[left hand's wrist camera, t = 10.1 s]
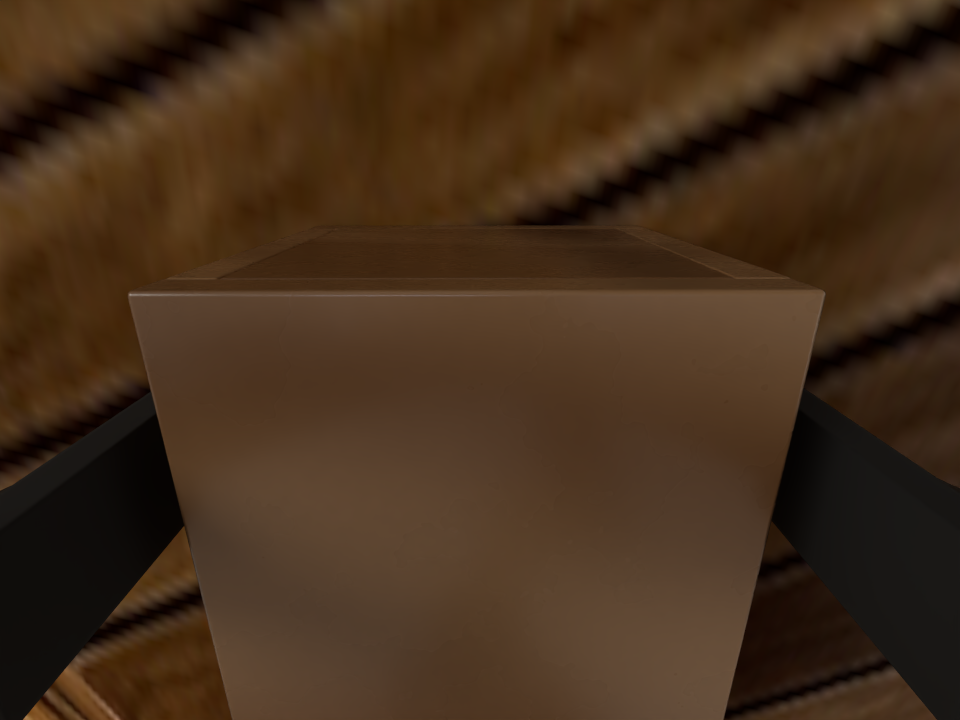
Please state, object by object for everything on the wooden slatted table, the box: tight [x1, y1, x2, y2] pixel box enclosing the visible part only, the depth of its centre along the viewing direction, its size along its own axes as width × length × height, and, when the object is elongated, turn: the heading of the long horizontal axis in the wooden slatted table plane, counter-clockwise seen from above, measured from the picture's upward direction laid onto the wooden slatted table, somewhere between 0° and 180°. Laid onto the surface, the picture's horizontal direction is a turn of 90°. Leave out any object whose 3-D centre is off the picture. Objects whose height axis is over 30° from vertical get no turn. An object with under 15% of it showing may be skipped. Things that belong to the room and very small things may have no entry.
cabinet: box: [128, 226, 826, 720], centre depth 16 cm, size 22×10×10 cm, turn 0°
